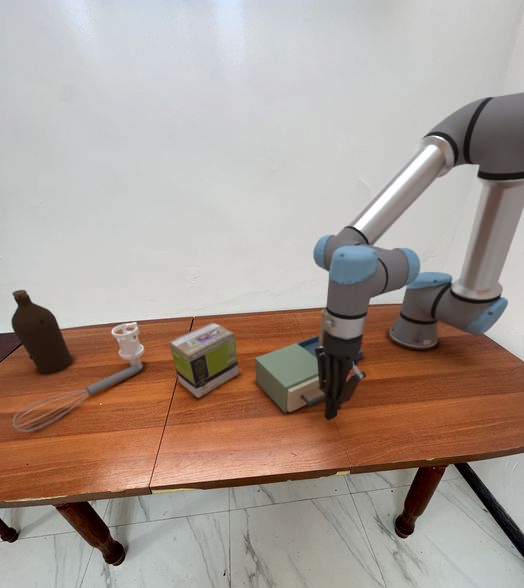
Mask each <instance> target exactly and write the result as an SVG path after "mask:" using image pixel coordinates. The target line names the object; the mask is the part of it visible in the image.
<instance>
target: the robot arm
mask: <svg viewBox="0 0 524 588" xmlns="http://www.w3.org/2000/svg"><path fill="white" fill-rule="evenodd" d="M463 165H470V166H471V165H475V166H478V170H477V174H476V179H477V180H478V181H479V182H480V183H481V184H482V185H481V190H480V195H479V199H478V203H477V206H476V210H475V215H474V219H473V223H472V227H471V230H470V234H469V239H468V242H467V247H466V251H465V254H464V259H463V263H462V266H461V271H460V276H459V278H458V279H456V280H454V281H453V276H452V275H451V274H449V273H446V272H439V271H423V272H421V261H420V257H419V255H418V254H417V253H416V252H415V251H414V250H413V249H411V248H409V247H394V248H392V249H386V248H382V247H379V246H376V245H375V244H376V243H377V242H379V240H380V239H381V238H382V237H383V236H384V235H385V234H386V232H388V230H389V229H391V228H392V226H393V225H394V224H395V223H396V222H397V221H398V220H399V219H400V218H401V217H402V216H403V215H404V214H405V212H407V210H408V209H409V208H410V207H411V206H412V205H413V204H414V203H415V202H416V201H417V200H418V199H419V198H420V197H421V196H422V195H423V194H424V192H426V190H427V189H428V188H429V187H430V186H431V185H432V184H433V183H434V182H435V181H436V180H437V179H438V178H442V177H444V176H446V175H448V174H449V172H451V170H452V169H454V168H456V167H459V166H463ZM523 212H524V91H522V92H516V93H511V94H505V95H497V96H489V97H488V96H487V97H482V98H479V99H476V100H473V101H471V102H469V103H467V104H465V105H463V106H462V107H460V108H458V109H457V110H455V111H454V112H452V113H451V114H449V115H447V116H446V117H445V118H444V119H442V120H441V121H440V122H438V123H437V124H436V125H435V126H434V127H432V128H431V129H430V130H429V131H428V132H427V133H426V134H425V135H424V136H423V137H422V138H421V139H420V140H419V141H418V142H417V143H416V145H415V147H414V149H413V154H412V155H411V156H410V157H409V158H408V159H407V160H406V162H405V163H404V164H403V165H402V166H401V167H400V168H399V169H398V170H396V172H395V173H394V174H393V175H392V176H391V178H389V179H388V180H387V181H386V183H384V185H383V186H381V188H380V189H379V190H378V191H377V192H376V193H375V194H374V195H373V196H372V198H370V200H369V201H368V202H367V203H366V204H365V205H364V206H363V207H362V208H360V210H359V211H358V212H357V213H356V214H355V215H354V217H352V219H350V220H349V222H348V223H347V224H346V225H345V226H344V227H343V229H340V231H339V232H338V233H337V234H336V235H335V234H325V235H324V236H321V237H320V238H319V239H318V240H317V242H316V243H315V245H314V247H313V254H312V255H313V256H312V257H313V260H314V263H315V264H316V266H317V267H319V268H321V269H323V270H325V271H326V272H327V273H328V285H327V295H326V304H325V307H326V314H325V324H324V328H325V329H324V331H323V341H322V346H321V347H318V348H316V349H315V353H316V356H317V363H318V375H319V386H320V388H323V389H324V393H325V401H324V404H325V408H324V415H323V417H324V418H325V419H326V420H327V421H331V420H333V419H334V418H336V417H338V414H339V413H338V412H339V411H340V410H341V406H342V405H343V404H346V403H347V402H349V401H351V399H352V397H353V396H354V394H355V392H356V389H357V388H358V386H359V384H360V382H361V381H362V380H363V379H365V378H366V377H367V374H366V372H365V371H360V369H359V367H358V364H359V363H358V362H359V361H358V360H357V355H358V353H359V351H360V349H361V350H362V343H363V338H364V332H365V328H366V322H367V318H368V311H369V306H370V302H371V299H372V298H375V297H379V296H381V295H384V294H387V293H390V292H394V291H398V290H401V289H403V288H404V287H405V292H404V296H403V299H402V303H401V308H400V312H399V315H398V316H397V318H396V319H395V321H394V323H393V324H392V325H391V327H390V328H389V332H388V337H389V339H390V341H392V342H393V343H394V344H396V345H398V346H400V347H401V348H405V349H409V350H413V351H427V350H431V349H433V348H434V347H436V345H437V343H438V339H439V337H438V322H439V323H443V324H445V325H447V326H450V327H452V328H455V329H457V330H459V331H462V332H463V333H468V334H470V335H473V336H481V335H484V334H486V332H488V331H489V330H490V329H492V327H493V326H494V325H496V323H497V322H498V320H499V319H501V317H502V315H503V314H504V313H505V310H506V309H507V307H508V305H509V300H508V299H507V298H506V297H505V296H503V297H502V293H503V291H504V288H503V285H502V284H501V282H499V281H500V278H501V275H502V272H503V270H504V266H505V263H506V260H507V257H508V255H509V252H510V249H511V246H512V243H513V240H514V237H515V234H516V232H517V229H518V225H519V222H520V220H521V216H522V214H523ZM324 380H326V381H325V382H324Z"/></svg>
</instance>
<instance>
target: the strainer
mask: <svg viewBox="0 0 524 588" xmlns="http://www.w3.org/2000/svg"><path fill="white" fill-rule="evenodd" d="M127 328H133V330H127ZM120 330H122V333H120V334H119V333H117V332H119V331H120ZM138 335H140V330H139V327H138V323H137V321H133V322H130V323H129V322H127V323H122V324H119V325H116V326H114V328H112V329H111V336H112V337H113V338H115V339H116V340H117V344H118V347H119V351H118V355H119V358H121V359H123V360H127V361H129V364H130V367H131V366H135V365H139V366H138V367H139V370H140V369H141V368H142V367H143V365H141V364H142V361H141V358H140V357H141V356H143V354H144V353H145V347H144V345H143V344H141V343H140V339H139V337H138ZM134 336H135V337H136V338H134ZM142 369H143V368H142ZM142 369H141V370H142Z"/></svg>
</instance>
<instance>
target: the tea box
mask: <svg viewBox="0 0 524 588" xmlns="http://www.w3.org/2000/svg"><path fill="white" fill-rule="evenodd" d="M168 343H169V347H170V348H169V349H170V352H171V356H172V360H173V363H174V367H175V371H176V376H177V379H178V382H179V383H180V385H182V386H183V387H184V388H185V389H186V390H187V391H188V392H190V393H191V394H192V395H193V396H195V397H196V398H197V399H199V398H201V397H203V396H205V395H206V394H208V393H209V392H210V391H212V390H214V389H216V388H218V387H219V386H221V385H224V384H225V383H226V382H228V381H229V380H232V379H233V378H235V377H237V376H238V375H240V374H239V373H240V372H239V371H240V369H239V363H238V353H237V346H236V345H237V344H236V337H235V333H234V332H233V331H232V330H229V329H227V328H225V327H223V326H222V325H219V324H218V323H215V321H214V322H209V323H208V324H206V325H203V326H201V327H199V328H197V329H195V330H192V331H190V332H188V333H185V334H184V335H181V336H179V337H176V338H175V339H173V340H170V341H168Z"/></svg>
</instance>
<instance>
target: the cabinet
mask: <svg viewBox="0 0 524 588" xmlns="http://www.w3.org/2000/svg"><path fill="white" fill-rule="evenodd" d="M297 343H298V342H295V343H293V344H289V345H287V346H284V347H281V348H278V349H275V350H273V351H270V352H268V353H265V354H262V355H259V356H257V357H254V366H255V367H254V369H255V370H254V371H255V383H256V384H257V385H258V386H259V387H260V389H261V390H263V392H265V393H266V395H267V396H268V397H269V398H270V399H271V400H272V401H273V402H274V403H275V404H276V405H277V406H278V407H279V409H281V411H282V412H283V413H287V412H289V411H288V410H287V392H288V388H291V387H293V386H295V385H297V384H300V383H302V382H304V381H307V380H309V379H311V378H313V377H316V376H318V363H317V358H316V357H314V356H313V355H312V354H310V353H309V352H308V351H306V350H305V349H304V348H302V347H301V346H300V345H298V344H297Z"/></svg>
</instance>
